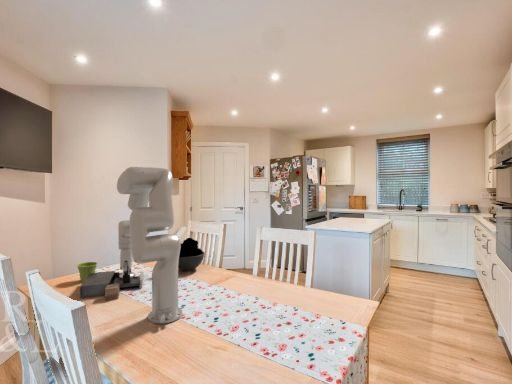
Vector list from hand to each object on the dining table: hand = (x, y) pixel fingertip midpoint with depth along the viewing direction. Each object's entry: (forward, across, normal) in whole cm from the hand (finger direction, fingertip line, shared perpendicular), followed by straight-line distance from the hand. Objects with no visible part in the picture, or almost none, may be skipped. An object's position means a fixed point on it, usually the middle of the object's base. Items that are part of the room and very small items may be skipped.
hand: (127, 280), depth 139 cm
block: (+3, +14, -5) cm, 15 cm away
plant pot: (+3, -16, -21) cm, 26 cm away
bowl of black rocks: (+3, -17, +31) cm, 36 cm away
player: (+3, 0, -11) cm, 12 cm away
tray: (+2, 0, 0) cm, 3 cm away
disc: (-1, 0, 0) cm, 1 cm away
